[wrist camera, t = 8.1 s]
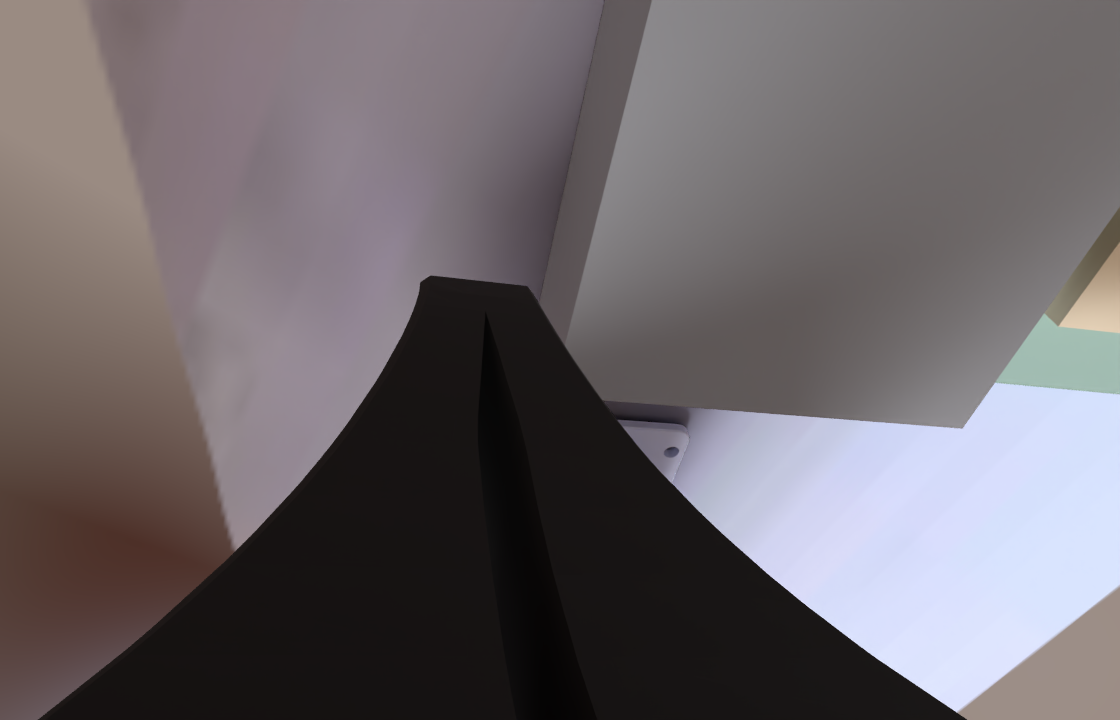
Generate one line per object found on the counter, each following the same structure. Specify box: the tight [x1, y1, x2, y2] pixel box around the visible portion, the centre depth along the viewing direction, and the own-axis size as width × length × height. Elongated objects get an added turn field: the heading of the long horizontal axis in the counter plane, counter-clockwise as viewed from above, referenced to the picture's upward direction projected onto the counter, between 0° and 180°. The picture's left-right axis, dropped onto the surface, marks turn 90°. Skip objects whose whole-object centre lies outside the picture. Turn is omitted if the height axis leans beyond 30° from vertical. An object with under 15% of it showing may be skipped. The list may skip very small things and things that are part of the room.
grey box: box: [539, 0, 1120, 428], centre depth 18 cm, size 14×12×4 cm
